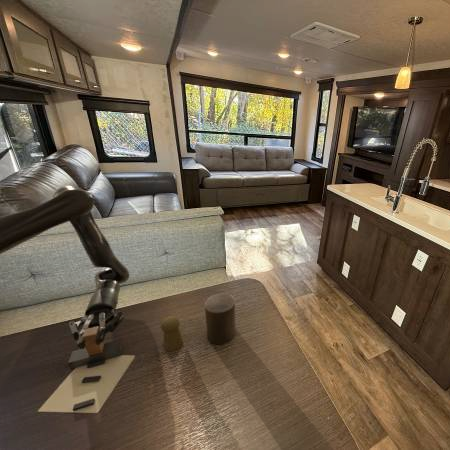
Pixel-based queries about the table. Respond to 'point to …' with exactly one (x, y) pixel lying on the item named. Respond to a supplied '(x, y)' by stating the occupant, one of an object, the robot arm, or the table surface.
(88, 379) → the mark
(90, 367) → the mark
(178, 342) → the cork
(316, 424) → the table surface
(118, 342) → the wooden handled grey block
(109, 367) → the memo board
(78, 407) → the mark
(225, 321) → the pillar candle
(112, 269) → the robot arm
